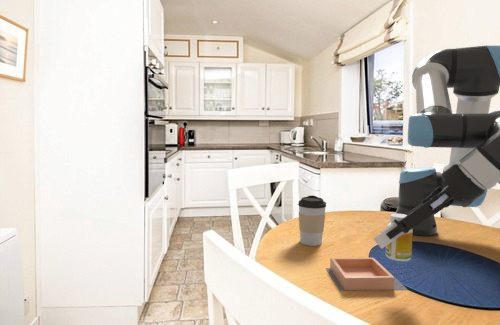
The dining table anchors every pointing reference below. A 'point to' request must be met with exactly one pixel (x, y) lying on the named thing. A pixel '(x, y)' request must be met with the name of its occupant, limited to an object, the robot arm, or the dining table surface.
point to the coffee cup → (311, 220)
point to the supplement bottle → (399, 243)
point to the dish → (361, 274)
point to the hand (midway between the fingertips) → (381, 239)
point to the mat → (396, 287)
